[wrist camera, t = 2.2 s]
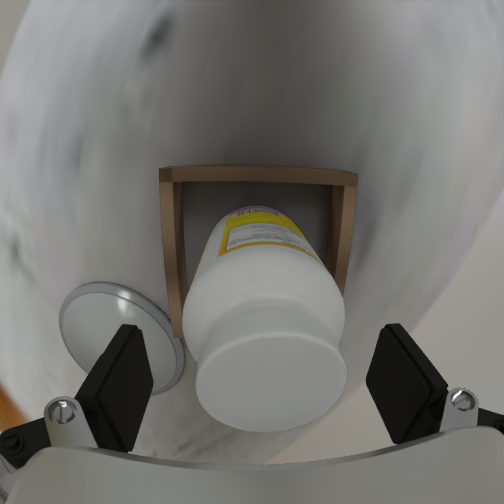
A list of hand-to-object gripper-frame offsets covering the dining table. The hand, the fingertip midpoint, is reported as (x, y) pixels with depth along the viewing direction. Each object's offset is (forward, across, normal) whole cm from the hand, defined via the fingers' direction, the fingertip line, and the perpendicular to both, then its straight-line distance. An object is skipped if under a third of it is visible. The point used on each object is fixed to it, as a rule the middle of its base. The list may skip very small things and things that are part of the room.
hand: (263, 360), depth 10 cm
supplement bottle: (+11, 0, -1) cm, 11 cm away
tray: (+11, +12, +8) cm, 18 cm away
